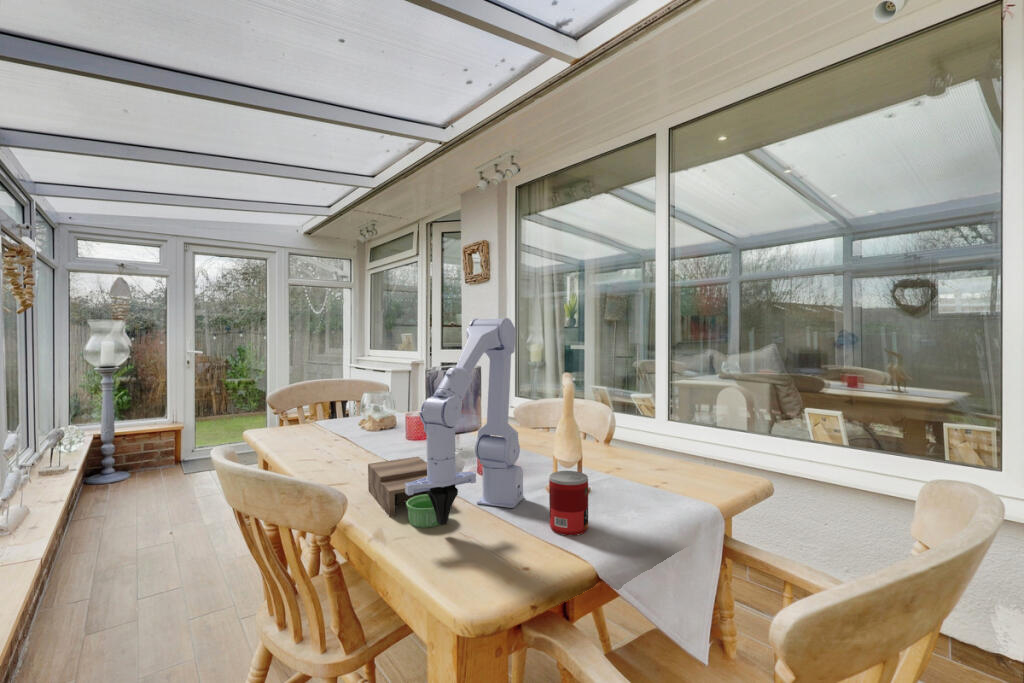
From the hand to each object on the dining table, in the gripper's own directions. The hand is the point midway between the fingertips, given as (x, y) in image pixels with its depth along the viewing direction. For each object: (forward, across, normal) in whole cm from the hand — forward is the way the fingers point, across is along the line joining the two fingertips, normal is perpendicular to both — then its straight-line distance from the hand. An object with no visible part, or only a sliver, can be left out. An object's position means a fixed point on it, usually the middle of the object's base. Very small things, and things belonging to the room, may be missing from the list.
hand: (442, 523), depth 97 cm
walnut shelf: (+2, 0, -25) cm, 25 cm away
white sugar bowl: (+3, -18, -34) cm, 39 cm away
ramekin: (+3, 0, -9) cm, 9 cm away
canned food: (+3, -24, +11) cm, 26 cm away
